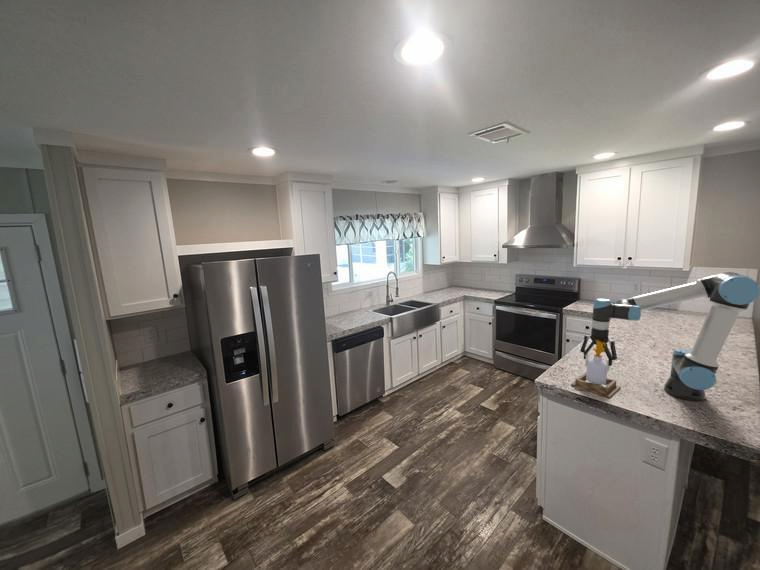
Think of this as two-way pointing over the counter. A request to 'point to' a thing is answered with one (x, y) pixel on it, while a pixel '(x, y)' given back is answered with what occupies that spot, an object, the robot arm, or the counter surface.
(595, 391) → the picture frame
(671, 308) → the counter surface
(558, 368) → the counter surface
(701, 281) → the robot arm
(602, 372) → the orange capped white bottle
